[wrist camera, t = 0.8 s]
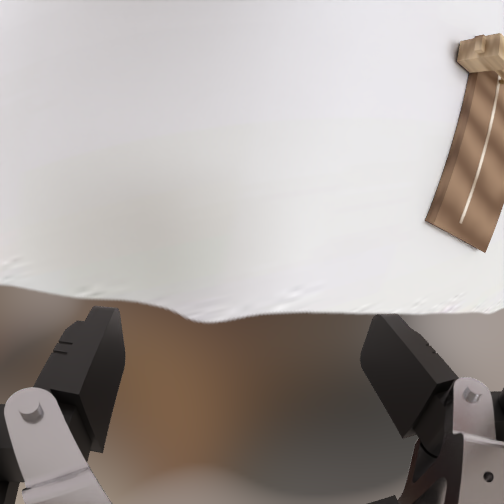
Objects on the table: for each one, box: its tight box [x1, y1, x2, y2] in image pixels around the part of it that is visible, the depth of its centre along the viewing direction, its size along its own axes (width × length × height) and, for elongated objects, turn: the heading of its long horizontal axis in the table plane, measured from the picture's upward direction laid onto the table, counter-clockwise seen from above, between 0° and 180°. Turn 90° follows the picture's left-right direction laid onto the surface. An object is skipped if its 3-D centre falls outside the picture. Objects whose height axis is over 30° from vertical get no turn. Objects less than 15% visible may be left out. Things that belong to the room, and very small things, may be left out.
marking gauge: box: [457, 33, 504, 84], centre depth 27 cm, size 4×9×8 cm, turn 71°
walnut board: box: [425, 35, 504, 253], centre depth 34 cm, size 32×14×2 cm, turn 161°
